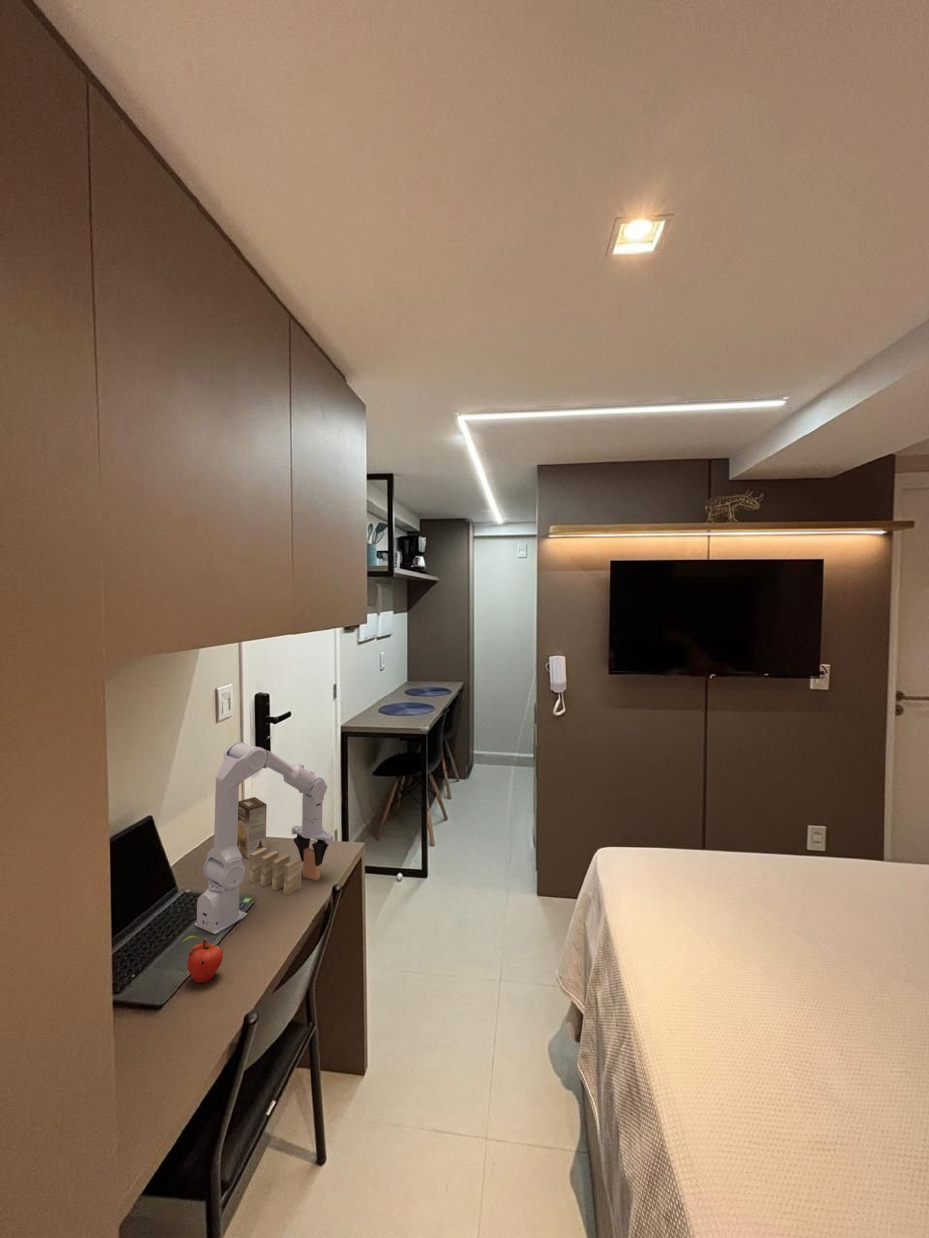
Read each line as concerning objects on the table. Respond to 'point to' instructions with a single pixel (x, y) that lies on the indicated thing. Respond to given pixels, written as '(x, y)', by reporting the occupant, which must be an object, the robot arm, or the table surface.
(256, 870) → the cream domino
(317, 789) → the robot arm
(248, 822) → the coffee box
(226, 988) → the table surface
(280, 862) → the cream domino
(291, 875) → the cream domino
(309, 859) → the terracotta domino
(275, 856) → the cream domino
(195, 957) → the apple
